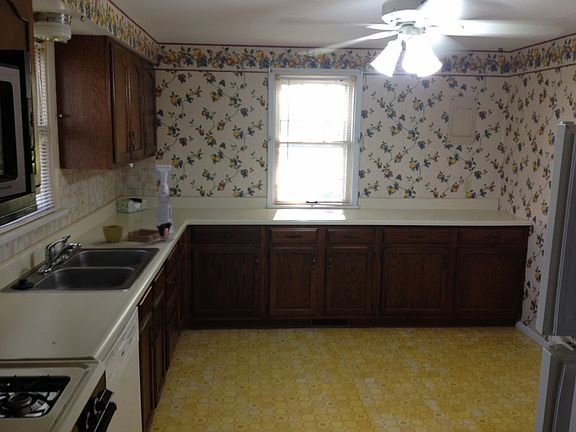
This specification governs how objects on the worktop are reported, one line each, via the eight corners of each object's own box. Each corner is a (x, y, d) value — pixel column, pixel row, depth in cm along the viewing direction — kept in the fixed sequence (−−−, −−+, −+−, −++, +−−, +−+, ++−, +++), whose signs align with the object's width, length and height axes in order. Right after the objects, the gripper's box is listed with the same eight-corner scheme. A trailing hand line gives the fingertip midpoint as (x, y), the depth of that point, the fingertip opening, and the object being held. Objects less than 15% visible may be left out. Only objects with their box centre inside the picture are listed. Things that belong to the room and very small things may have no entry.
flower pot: (115, 239, 344) (115, 224, 342) (124, 241, 338) (123, 226, 337) (102, 241, 337) (102, 226, 335) (111, 243, 331) (110, 228, 330)
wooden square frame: (140, 235, 355) (140, 228, 354) (160, 237, 351) (160, 230, 350) (127, 240, 341) (127, 232, 341) (148, 241, 337) (148, 234, 336)
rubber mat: (163, 238, 349) (163, 238, 349) (175, 239, 346) (175, 239, 346) (153, 241, 337) (153, 241, 337) (165, 243, 335) (165, 242, 335)
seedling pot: (162, 237, 345) (162, 227, 344) (170, 237, 343) (169, 227, 342) (158, 239, 340) (158, 229, 339) (165, 239, 338) (165, 229, 338)
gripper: (164, 211, 347) (164, 233, 349) (151, 214, 333) (152, 237, 336) (174, 212, 345) (174, 233, 347) (162, 215, 331) (162, 238, 334)
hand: (164, 235), depth 341 cm, fingers closed on seedling pot, 5 cm apart
